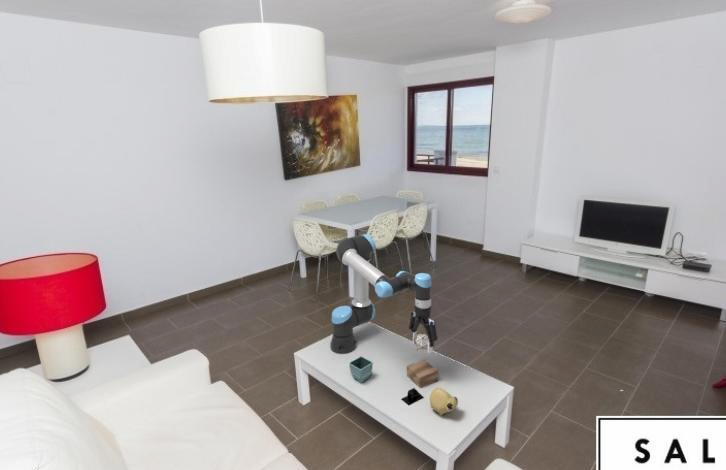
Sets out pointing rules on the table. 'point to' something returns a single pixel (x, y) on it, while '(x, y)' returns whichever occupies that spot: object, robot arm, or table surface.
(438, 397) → the toy pig
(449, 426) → the table surface
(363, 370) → the flower pot
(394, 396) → the table surface
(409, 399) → the black angular block
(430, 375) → the walnut block
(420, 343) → the game die
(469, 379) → the table surface
